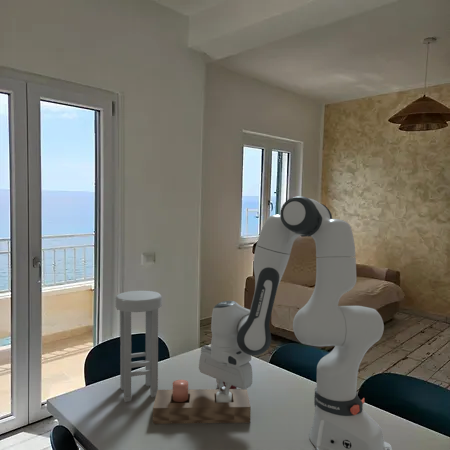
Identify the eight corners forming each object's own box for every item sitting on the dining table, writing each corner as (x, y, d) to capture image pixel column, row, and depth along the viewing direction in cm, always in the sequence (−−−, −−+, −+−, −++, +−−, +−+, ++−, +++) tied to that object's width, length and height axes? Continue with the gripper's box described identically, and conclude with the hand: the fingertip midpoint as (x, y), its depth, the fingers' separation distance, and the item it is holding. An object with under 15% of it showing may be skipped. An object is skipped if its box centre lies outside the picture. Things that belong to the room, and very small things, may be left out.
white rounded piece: (230, 405, 133) (231, 390, 133) (231, 413, 128) (232, 397, 128) (215, 405, 133) (216, 390, 133) (216, 413, 128) (216, 397, 128)
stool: (165, 398, 140) (165, 298, 138) (119, 405, 134) (119, 301, 132) (155, 379, 155) (155, 289, 152) (113, 385, 149) (113, 291, 147)
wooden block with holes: (246, 403, 137) (246, 388, 137) (250, 422, 125) (250, 406, 125) (157, 404, 136) (157, 389, 136) (152, 423, 124) (152, 408, 124)
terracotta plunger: (188, 394, 133) (188, 379, 132) (187, 402, 128) (188, 386, 127) (173, 394, 132) (173, 379, 132) (171, 402, 127) (172, 386, 127)
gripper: (194, 346, 135) (194, 386, 135) (243, 363, 121) (242, 407, 122) (207, 341, 139) (207, 380, 140) (255, 357, 126) (254, 400, 127)
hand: (224, 393), depth 131 cm, fingers closed, pressing on white rounded piece
